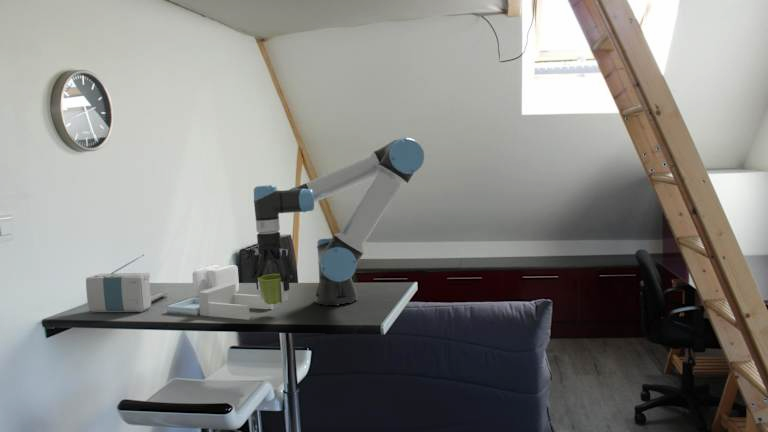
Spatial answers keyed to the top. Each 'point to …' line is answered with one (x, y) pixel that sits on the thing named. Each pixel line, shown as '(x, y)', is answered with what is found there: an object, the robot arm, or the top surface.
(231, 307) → the bay
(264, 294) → the plant pot
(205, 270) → the cable organizer
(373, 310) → the top surface
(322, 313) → the top surface
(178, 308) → the tray
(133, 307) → the stereo radio cassette player
